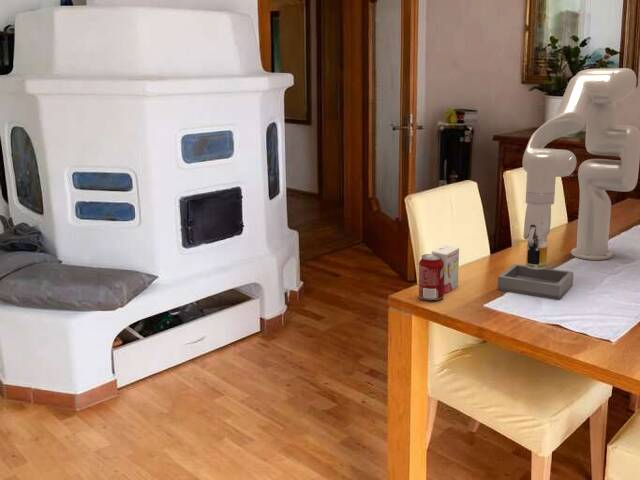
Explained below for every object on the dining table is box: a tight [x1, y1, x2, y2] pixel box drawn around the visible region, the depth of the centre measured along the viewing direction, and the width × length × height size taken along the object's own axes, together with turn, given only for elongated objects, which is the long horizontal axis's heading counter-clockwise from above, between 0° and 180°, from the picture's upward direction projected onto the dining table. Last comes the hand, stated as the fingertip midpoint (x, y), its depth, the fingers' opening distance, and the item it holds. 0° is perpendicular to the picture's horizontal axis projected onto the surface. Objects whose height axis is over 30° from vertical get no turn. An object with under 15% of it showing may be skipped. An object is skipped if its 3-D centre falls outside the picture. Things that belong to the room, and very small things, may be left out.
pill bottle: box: [525, 237, 548, 270], centre depth 185 cm, size 5×5×10 cm
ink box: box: [430, 244, 460, 295], centre depth 188 cm, size 9×5×12 cm, turn 142°
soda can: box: [418, 253, 445, 301], centre depth 181 cm, size 7×7×12 cm
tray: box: [497, 263, 574, 301], centre depth 187 cm, size 14×17×4 cm
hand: (536, 260), depth 186 cm, fingers closed on pill bottle, 5 cm apart
